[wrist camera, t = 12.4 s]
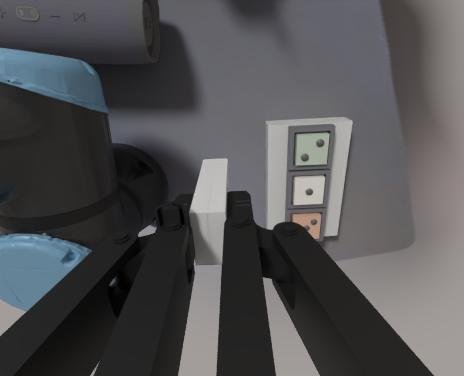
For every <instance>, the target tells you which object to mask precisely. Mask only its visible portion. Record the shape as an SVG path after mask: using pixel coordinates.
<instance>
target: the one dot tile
mask: <svg viewBox="0 0 464 376" xmlns="http://www.w3.org/2000/svg"><path fill="white" fill-rule="evenodd" d="M324 185H325V177H324V175H323V174H320V175H299V176H292V198H291V199H292V202H293V204H294V205H308V204H323V195H324Z"/></svg>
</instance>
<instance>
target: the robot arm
mask: <svg viewBox="0 0 464 376" xmlns="http://www.w3.org/2000/svg"><path fill="white" fill-rule="evenodd" d="M108 113H109V110H108V108H107V107H106V104H105V100H104V96H103V91H102V86H101V82H100V78H99V76H98V74H97V72H96V71H95V69H94V68H93V67H92V66H90V65H89V64H88V63H86V62H84V61H82V60H78V59H73V58H68V57H62V56H55V55H49V54H42V53H36V52H29V51H22V50H15V49H7V48H0V299H1V300H3V301H5V302H6V303H8V304H10V305H12V306H14V307H17V308H19V309H22V310H24V311H27V312H26V313H25V314H24V315H23V316H22V317H20V318H19V319H18V320H17V321H16V322H15V323H14V324H13V325H12V326H11V327H10V328H9V329H8V330H7V331H5V332H4V333H3V334H2V335H1V336H0V376H90V375H91V373H92V372H93V370H94V368H95V367H96V366H97V364H98V363H99V364H98V367H97V369H96V371H95V374H94V376H178V371H179V366H180V360H181V354H182V348H183V341H184V336H185V330H186V324H187V317H188V311H189V305H190V299H191V293H192V287H193V281H194V275H195V271H194V259H195V262H196V265H215V264H222V275H221V295H220V315H219V335H218V355H217V356H218V357H217V375H216V376H276V373H275V366H274V358H273V351H272V343H271V336H270V328H269V321H268V314H267V306H266V299H265V292H264V285H263V277H265V278H270V279H272V282H273V285H274V287H275V289H276V291H277V293H278V295H279V297H280V299H281V301H282V302H283V304H284V306H285V308H286V310H287V312H288V314H289V316H290V318H291V320H292V322H293V324H294V326H295V328H296V330H297V332H298V334H299V336H300V337H301V339H302V341H303V343H304V345H305V347H306V349H307V351H308V353H309V355H310V357H311V359H312V361H313V363H314V365H315V367H316V369H317V371H318V372H319V374H320V376H434V375H433V374H432V373H431V372H430V371H429V370H428V368H427V367H426V366H425V365H424V364H423V363H422V361H421V360H420V359H419V358H418V357H417V356H416V355H415V353H414V352H413V351H412V350H411V349H410V348H409V347H408V345H407V344H406V343H405V342H404V341H403V340H402V339H401V338H400V336H399V335H398V334H397V333H396V332H395V331H394V329H393V328H392V327H391V326H390V325H389V324H388V323H387V321H386V320H385V319H384V318H383V317H382V316H381V315H380V313H379V312H378V311H377V310H376V309H375V308H374V307H373V305H372V304H371V303H370V302H369V301H368V300H367V299H366V298H365V296H364V295H363V294H362V293H361V292H360V291H359V290H358V288H357V287H356V286H355V285H354V284H353V283H352V281H351V280H350V279H349V278H348V277H347V276H346V275H345V273H344V272H343V271H342V270H341V269H340V268H339V267H338V265H337V264H336V263H335V262H334V261H333V260H332V259H331V257H330V256H329V255H328V254H327V253H326V252H325V251H324V249H323V248H322V247H321V246H320V245H319V244H318V242H317V241H316V240H315V239H314V238H313V237H312V236H311V234H310V233H309V232H308V231H307V230H306V229H305V228H304V227H303V226H302V225H300V224H298V223H295V222H281V223H278V224H276V225H275V226H274V228H273V230H270V229H265V228H262V227H260V226H258V225H257V224H256V223H255V221H254V219H253V212H252V205H251V197H250V194H249V193H248V192H247V191H231V192H229V175H228V158H225V159H204V160H203V163H202V167H201V171H200V174H199V178H198V182H197V186H196V189H195V193H194V194H180V195H179V196H178V197H177V198H176V199H175V200H174V202H169V203H166V201H167V198H168V184H167V180H166V177H165V174H164V172H163V171H162V169H161V167H160V166H159V165H158V163H157V162H156V161H155V160H154V159H153V158H152V157H151V156H149V155H148V154H147V153H145V152H143V151H142V150H140V149H138V148H135V147H133V146H130V145H125V144H117V143H113V144H112V140H111V133H110V126H109V120H108ZM155 220H156V223H157V229H156V231H155V233H153V234H150V235H147V236H142V237H138V234H139V232H140V231H141V230H143V229H144V228H145V227H147V226H149V225H150V224H152V223H153V222H154V221H155ZM99 361H100V362H99Z"/></svg>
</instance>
